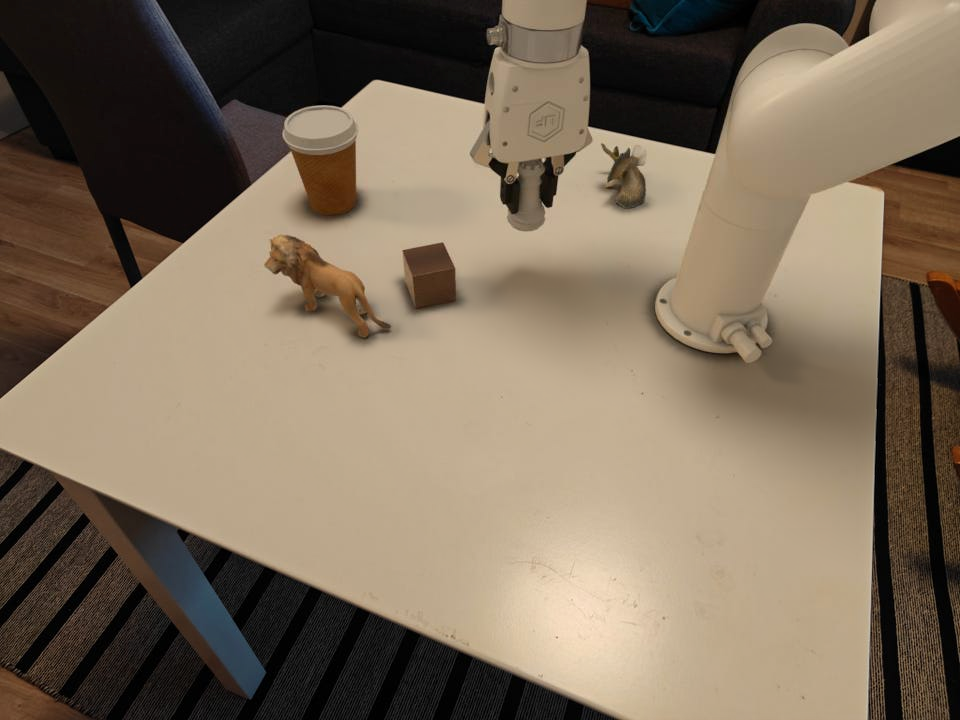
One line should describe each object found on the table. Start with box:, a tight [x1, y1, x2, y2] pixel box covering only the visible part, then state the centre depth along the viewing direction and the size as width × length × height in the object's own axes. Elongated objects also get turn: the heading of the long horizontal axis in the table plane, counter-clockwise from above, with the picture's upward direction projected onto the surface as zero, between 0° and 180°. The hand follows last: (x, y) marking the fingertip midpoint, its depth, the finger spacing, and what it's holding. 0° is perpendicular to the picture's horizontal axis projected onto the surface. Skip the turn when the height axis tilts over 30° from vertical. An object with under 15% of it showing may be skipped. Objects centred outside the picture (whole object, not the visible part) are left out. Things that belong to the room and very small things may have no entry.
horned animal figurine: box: [600, 142, 647, 209], centre depth 91 cm, size 8×7×9 cm
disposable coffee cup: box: [282, 104, 359, 216], centre depth 86 cm, size 10×10×12 cm
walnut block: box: [401, 242, 457, 310], centre depth 76 cm, size 5×5×5 cm
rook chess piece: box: [506, 158, 546, 233], centre depth 72 cm, size 4×4×8 cm
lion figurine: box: [263, 234, 392, 339], centre depth 72 cm, size 15×5×9 cm, turn 66°
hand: (527, 202), depth 73 cm, fingers closed on rook chess piece, 3 cm apart
